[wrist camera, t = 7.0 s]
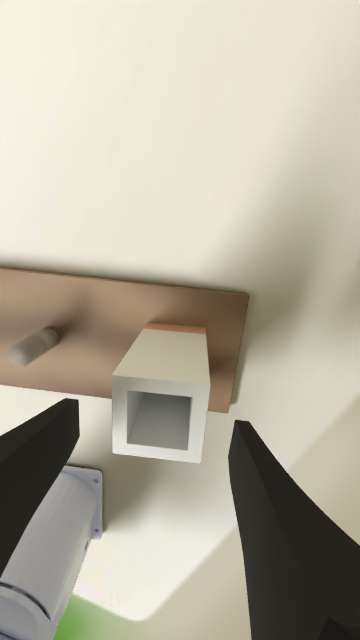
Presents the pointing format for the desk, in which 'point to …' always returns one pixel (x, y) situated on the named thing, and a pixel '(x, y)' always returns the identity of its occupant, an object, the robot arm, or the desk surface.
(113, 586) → the desk surface
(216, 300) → the pin board
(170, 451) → the sleeve
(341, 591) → the robot arm
